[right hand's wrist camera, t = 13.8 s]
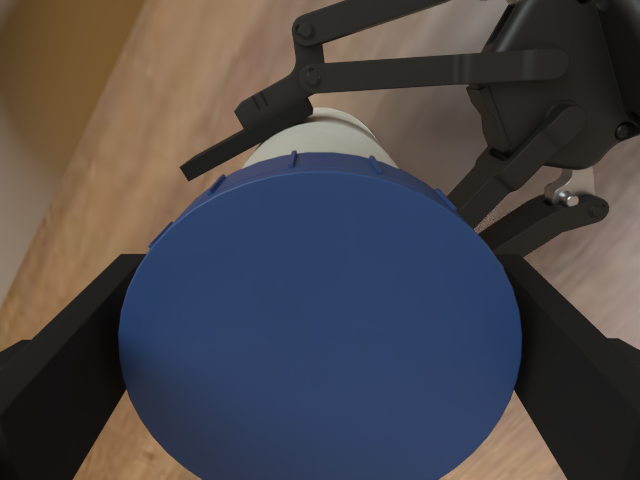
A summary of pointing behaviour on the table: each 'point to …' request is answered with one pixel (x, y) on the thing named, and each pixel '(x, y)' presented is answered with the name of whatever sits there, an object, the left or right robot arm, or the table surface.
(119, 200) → the table surface
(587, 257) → the table surface
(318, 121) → the jar
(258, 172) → the lid
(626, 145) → the table surface
